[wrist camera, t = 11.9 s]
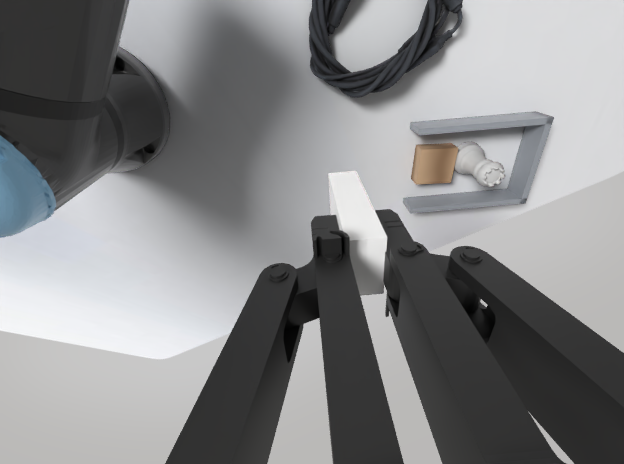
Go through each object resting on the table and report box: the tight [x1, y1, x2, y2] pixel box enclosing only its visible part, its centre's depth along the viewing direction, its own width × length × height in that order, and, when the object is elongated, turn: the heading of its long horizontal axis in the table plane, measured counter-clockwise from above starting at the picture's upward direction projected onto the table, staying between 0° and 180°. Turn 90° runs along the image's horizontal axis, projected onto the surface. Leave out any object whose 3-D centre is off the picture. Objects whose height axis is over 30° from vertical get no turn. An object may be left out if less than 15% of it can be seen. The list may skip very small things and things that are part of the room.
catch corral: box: [403, 112, 554, 213], centre depth 43 cm, size 17×12×4 cm
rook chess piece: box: [454, 142, 505, 187], centre depth 40 cm, size 4×4×8 cm
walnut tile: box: [411, 143, 458, 184], centre depth 43 cm, size 5×5×2 cm
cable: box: [309, 0, 463, 98], centre depth 33 cm, size 17×14×4 cm
